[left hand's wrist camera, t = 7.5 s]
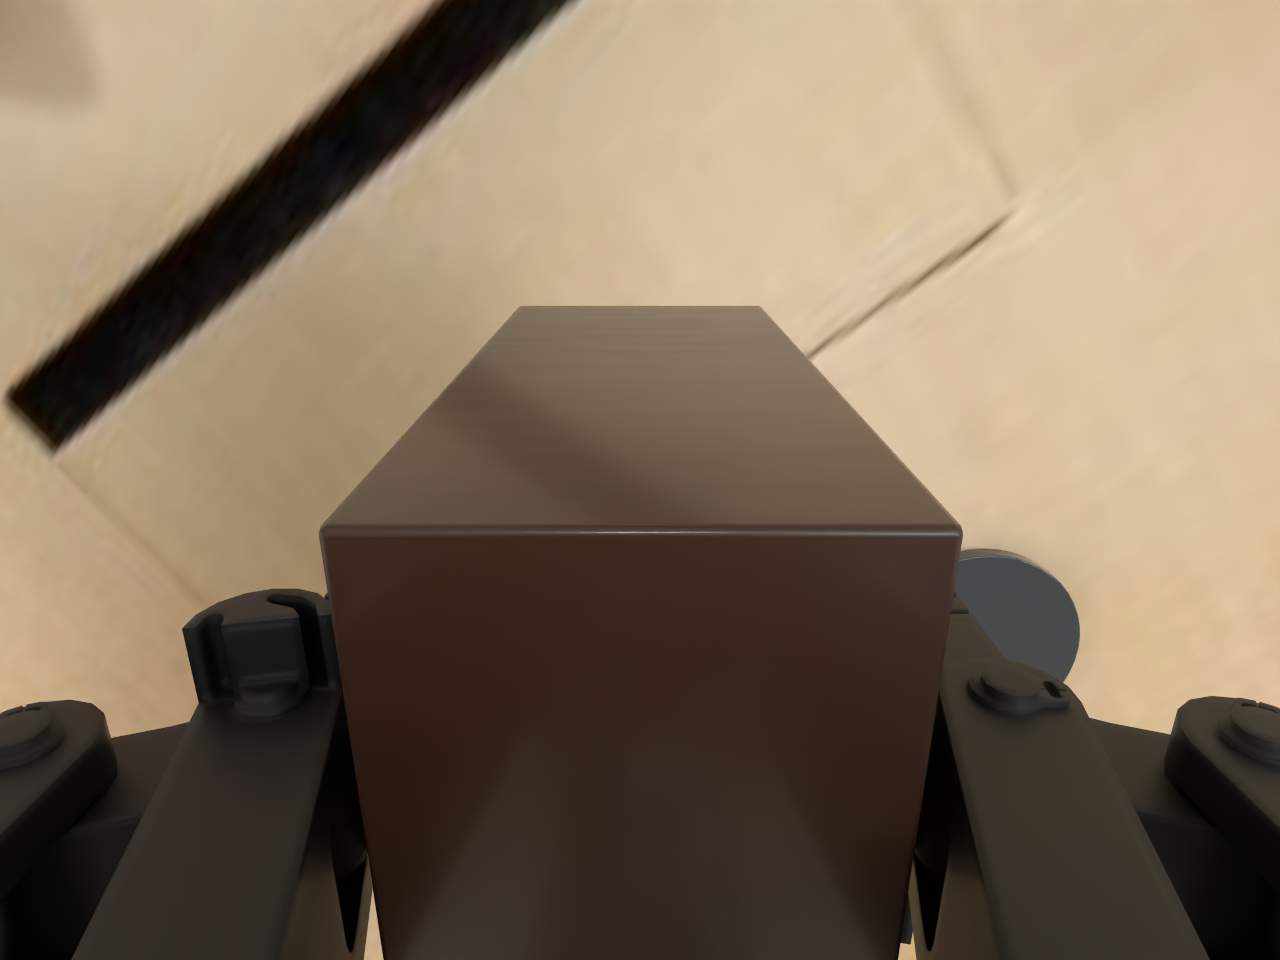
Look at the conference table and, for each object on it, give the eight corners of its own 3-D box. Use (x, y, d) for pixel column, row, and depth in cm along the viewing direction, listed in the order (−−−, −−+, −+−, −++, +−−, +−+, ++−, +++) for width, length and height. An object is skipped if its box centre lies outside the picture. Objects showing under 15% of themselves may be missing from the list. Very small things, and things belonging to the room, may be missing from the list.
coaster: (878, 549, 31) (882, 555, 30) (1090, 549, 31) (1099, 555, 30) (858, 725, 33) (862, 734, 33) (1053, 725, 33) (1060, 734, 33)
